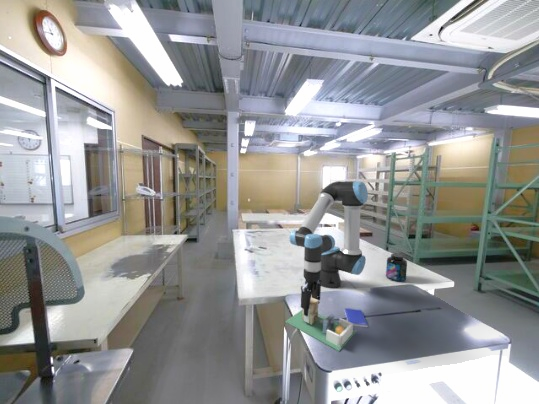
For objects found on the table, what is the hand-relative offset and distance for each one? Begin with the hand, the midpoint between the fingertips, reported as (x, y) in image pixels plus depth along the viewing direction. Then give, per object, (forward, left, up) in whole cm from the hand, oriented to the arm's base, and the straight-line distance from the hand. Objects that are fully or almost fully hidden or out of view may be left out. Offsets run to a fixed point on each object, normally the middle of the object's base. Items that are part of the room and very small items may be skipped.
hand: (310, 318), depth 104 cm
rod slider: (0, +4, -1) cm, 4 cm away
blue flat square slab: (-18, +14, -2) cm, 23 cm away
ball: (0, +14, +1) cm, 14 cm away
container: (-83, +15, -2) cm, 84 cm away
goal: (0, +15, -2) cm, 15 cm away
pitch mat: (0, +5, -2) cm, 5 cm away
